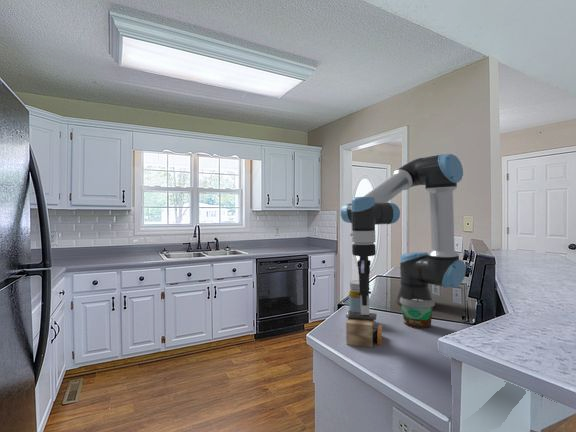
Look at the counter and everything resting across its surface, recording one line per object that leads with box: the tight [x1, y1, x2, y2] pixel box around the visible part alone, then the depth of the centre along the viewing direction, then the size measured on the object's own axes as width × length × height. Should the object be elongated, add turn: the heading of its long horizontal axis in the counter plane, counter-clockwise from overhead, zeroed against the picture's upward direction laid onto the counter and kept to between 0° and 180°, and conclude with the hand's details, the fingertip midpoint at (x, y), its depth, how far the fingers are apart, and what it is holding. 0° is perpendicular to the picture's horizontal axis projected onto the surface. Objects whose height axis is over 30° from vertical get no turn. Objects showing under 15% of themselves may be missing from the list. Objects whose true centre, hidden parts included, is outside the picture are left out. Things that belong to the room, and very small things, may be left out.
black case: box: [373, 324, 383, 346], centre depth 106 cm, size 11×7×4 cm, turn 72°
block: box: [345, 317, 376, 348], centre depth 106 cm, size 8×12×7 cm, turn 161°
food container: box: [400, 297, 436, 330], centre depth 116 cm, size 12×6×10 cm, turn 70°
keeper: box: [345, 309, 378, 321], centre depth 106 cm, size 10×5×1 cm, turn 71°
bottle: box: [348, 279, 361, 312], centre depth 123 cm, size 7×7×15 cm
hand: (365, 314), depth 105 cm, fingers closed
